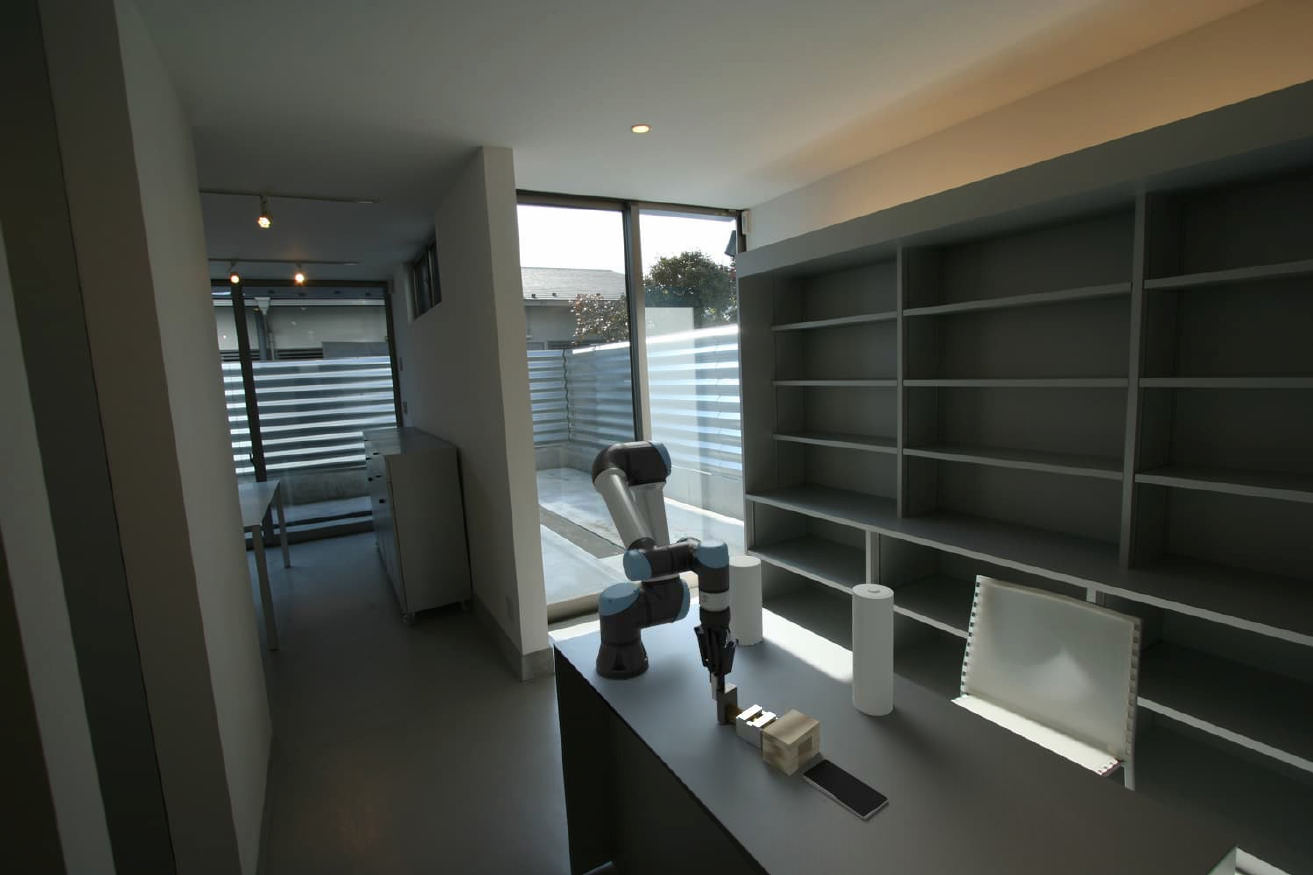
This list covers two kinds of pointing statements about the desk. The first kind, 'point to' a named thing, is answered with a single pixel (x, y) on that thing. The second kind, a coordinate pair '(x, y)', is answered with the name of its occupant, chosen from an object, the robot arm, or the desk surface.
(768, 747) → the socket
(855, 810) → the smartphone
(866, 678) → the cylinder container
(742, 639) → the tall pillar cylinder
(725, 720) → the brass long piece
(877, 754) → the desk surface
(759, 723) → the sleeve
